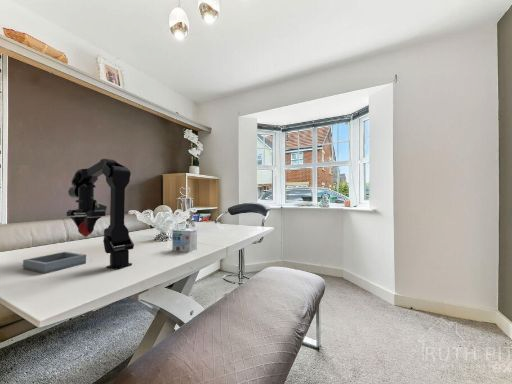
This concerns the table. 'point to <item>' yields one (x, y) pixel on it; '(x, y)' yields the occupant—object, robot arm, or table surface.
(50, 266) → the tray
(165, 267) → the table surface
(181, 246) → the light bulb box
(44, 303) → the table surface
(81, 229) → the onion
